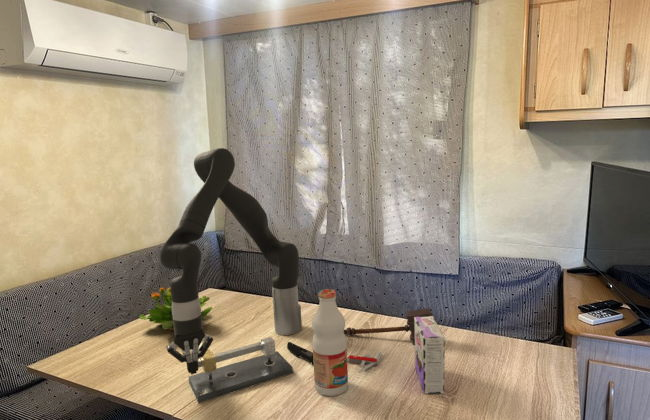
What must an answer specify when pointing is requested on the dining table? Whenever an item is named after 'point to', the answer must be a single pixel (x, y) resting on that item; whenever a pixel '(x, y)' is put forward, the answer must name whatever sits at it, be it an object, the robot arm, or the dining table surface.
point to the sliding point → (209, 363)
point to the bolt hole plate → (239, 376)
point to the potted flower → (168, 309)
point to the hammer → (406, 328)
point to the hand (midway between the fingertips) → (193, 372)
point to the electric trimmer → (300, 352)
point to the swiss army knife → (364, 360)
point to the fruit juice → (329, 346)
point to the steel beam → (247, 351)
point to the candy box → (429, 354)
